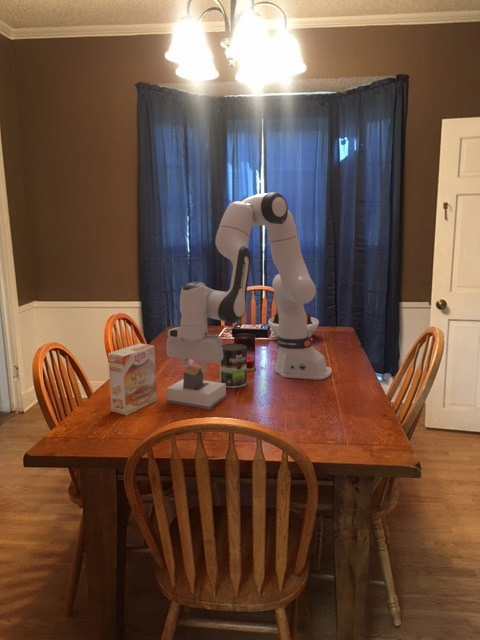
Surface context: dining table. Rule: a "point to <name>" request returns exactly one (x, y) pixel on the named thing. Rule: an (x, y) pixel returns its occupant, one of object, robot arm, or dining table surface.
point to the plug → (193, 377)
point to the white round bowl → (311, 324)
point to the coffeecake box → (132, 378)
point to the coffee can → (233, 365)
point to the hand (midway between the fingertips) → (195, 371)
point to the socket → (197, 394)
